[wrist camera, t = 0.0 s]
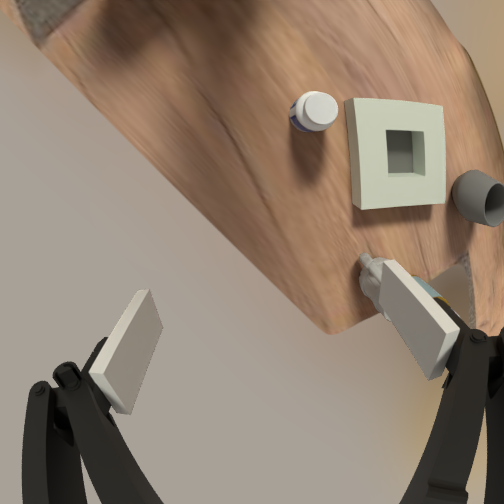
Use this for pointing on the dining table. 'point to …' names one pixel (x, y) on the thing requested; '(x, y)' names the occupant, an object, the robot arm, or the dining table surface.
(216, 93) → the dining table surface
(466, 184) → the cup
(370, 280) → the mug
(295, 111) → the pill bottle
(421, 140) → the socket block
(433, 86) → the dining table surface
